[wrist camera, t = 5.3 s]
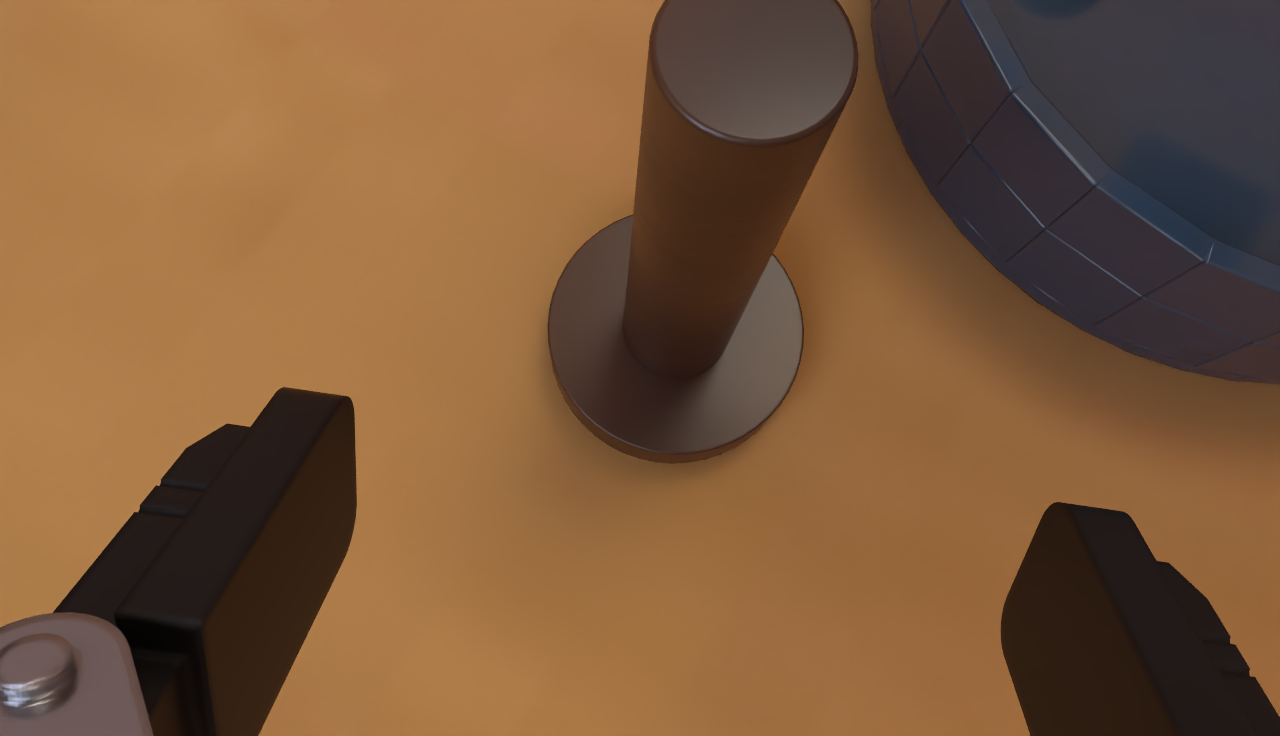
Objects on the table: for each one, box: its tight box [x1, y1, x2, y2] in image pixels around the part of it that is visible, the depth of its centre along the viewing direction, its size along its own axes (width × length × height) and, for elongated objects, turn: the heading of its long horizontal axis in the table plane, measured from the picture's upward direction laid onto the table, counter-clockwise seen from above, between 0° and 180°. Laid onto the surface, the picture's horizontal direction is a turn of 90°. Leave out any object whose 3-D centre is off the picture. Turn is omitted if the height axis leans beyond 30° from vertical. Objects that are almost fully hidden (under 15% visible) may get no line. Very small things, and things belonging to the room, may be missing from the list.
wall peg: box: [548, 0, 858, 463], centre depth 18 cm, size 6×6×13 cm
